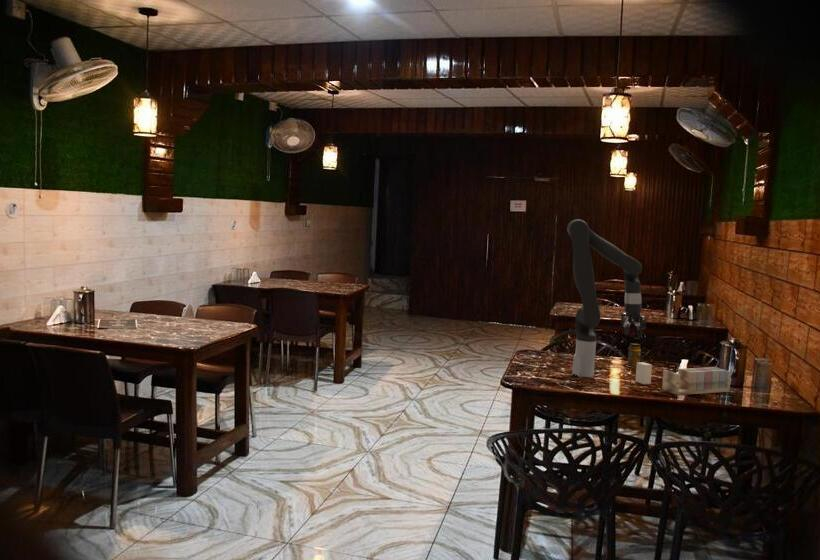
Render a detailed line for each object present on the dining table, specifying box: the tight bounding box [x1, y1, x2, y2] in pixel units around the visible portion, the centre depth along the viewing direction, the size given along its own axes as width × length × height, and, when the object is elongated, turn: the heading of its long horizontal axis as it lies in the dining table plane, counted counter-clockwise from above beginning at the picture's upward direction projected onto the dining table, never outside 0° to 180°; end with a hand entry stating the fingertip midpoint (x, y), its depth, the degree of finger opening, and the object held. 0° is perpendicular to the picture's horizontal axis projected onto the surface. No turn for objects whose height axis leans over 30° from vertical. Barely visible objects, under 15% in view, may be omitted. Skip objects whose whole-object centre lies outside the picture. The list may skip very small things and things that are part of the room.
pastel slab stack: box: [661, 366, 732, 396], centre depth 292 cm, size 9×30×10 cm, turn 111°
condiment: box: [627, 342, 642, 367], centre depth 340 cm, size 7×8×12 cm
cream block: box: [635, 361, 653, 385], centre depth 303 cm, size 4×6×9 cm
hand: (633, 336), depth 309 cm, fingers open, 8 cm apart
